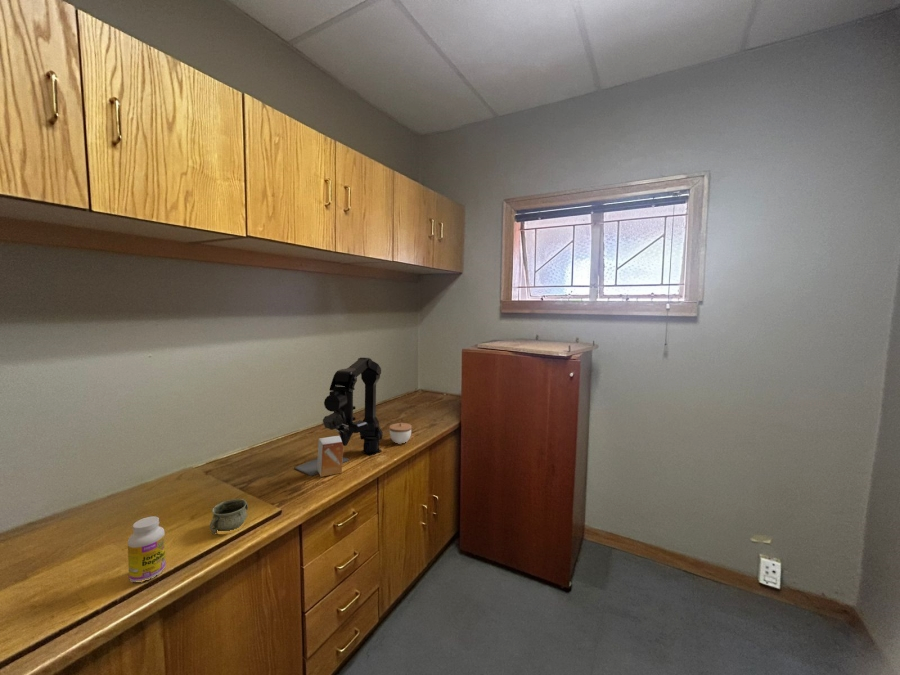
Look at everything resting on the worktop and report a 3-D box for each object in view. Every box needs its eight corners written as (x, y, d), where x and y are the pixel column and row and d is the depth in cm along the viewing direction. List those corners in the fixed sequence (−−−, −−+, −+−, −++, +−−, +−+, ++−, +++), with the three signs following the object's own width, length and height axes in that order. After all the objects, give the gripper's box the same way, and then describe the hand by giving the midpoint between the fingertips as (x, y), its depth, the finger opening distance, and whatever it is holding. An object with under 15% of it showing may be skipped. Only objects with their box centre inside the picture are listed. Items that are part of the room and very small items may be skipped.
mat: (332, 454, 157) (332, 452, 157) (348, 460, 150) (348, 458, 150) (294, 468, 142) (294, 467, 142) (311, 476, 136) (311, 474, 136)
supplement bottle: (140, 588, 80) (137, 533, 79) (122, 579, 83) (119, 526, 82) (172, 568, 86) (170, 517, 85) (155, 561, 89) (153, 511, 88)
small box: (320, 477, 134) (322, 444, 132) (316, 469, 139) (318, 438, 138) (342, 473, 139) (344, 441, 137) (337, 465, 144) (339, 435, 142)
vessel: (222, 542, 96) (221, 520, 96) (198, 536, 99) (198, 514, 99) (259, 518, 108) (258, 498, 107) (236, 513, 110) (236, 493, 110)
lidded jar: (402, 447, 165) (402, 428, 165) (384, 443, 171) (384, 423, 170) (415, 440, 175) (416, 422, 174) (399, 436, 180) (399, 418, 180)
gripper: (310, 404, 131) (310, 446, 132) (344, 413, 120) (344, 458, 121) (335, 399, 140) (335, 438, 141) (368, 406, 129) (368, 448, 130)
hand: (345, 445), depth 133 cm, fingers closed
